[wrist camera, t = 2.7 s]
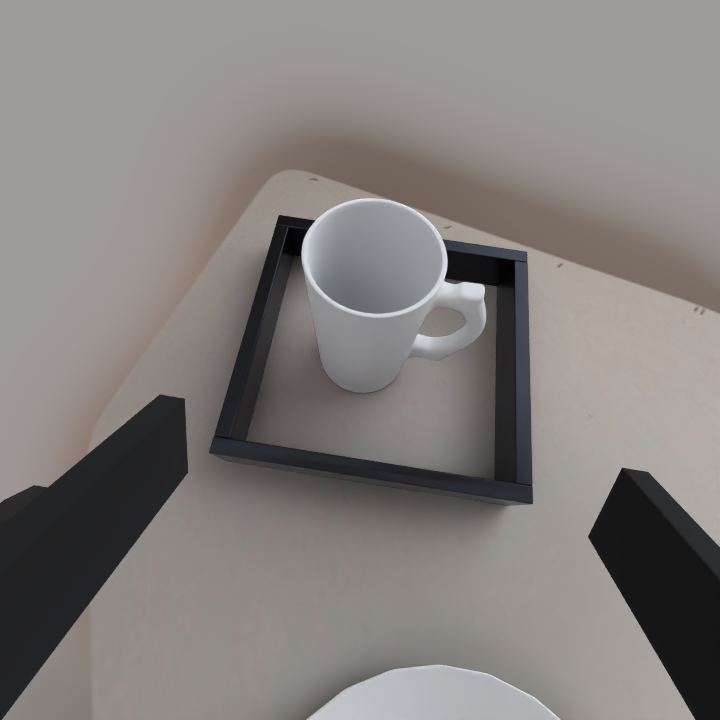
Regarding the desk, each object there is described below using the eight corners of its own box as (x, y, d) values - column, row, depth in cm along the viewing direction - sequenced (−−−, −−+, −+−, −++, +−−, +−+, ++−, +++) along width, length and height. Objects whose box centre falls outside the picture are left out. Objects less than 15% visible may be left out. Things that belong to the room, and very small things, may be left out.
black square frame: (225, 460, 26) (208, 452, 22) (284, 244, 32) (278, 214, 29) (508, 505, 25) (533, 504, 22) (508, 278, 32) (527, 251, 29)
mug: (305, 385, 28) (282, 298, 17) (329, 306, 30) (323, 185, 19) (442, 417, 27) (511, 350, 16) (455, 334, 30) (522, 227, 19)
